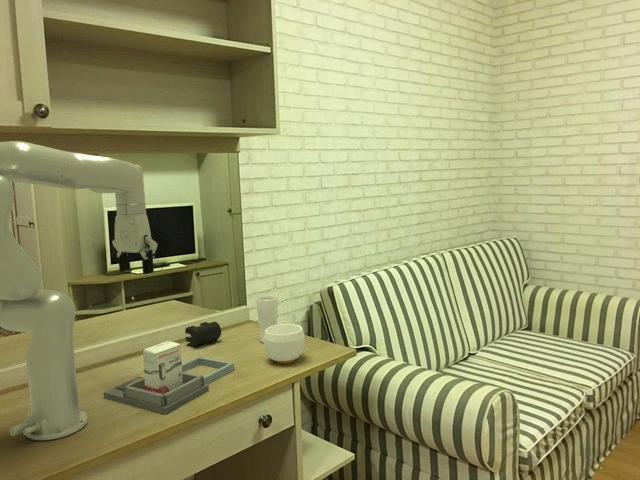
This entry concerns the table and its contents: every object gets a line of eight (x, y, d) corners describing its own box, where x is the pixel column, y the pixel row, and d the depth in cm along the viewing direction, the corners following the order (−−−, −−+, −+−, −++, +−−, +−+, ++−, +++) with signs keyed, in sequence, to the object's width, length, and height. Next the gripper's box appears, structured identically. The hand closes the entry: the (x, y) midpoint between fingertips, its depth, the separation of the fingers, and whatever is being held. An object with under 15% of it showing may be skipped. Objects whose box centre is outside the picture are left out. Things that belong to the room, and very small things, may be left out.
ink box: (158, 399, 126) (154, 352, 125) (144, 395, 129) (141, 349, 128) (184, 386, 134) (181, 342, 132) (171, 383, 136) (168, 339, 135)
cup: (256, 361, 155) (254, 330, 154) (286, 350, 164) (285, 321, 163) (283, 370, 146) (282, 338, 145) (314, 359, 155) (312, 328, 154)
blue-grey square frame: (202, 386, 137) (202, 379, 137) (165, 378, 143) (165, 371, 143) (234, 369, 149) (234, 363, 148) (199, 362, 155) (198, 356, 155)
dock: (166, 414, 121) (164, 398, 121) (103, 397, 132) (102, 382, 131) (208, 390, 134) (207, 376, 134) (148, 377, 145) (147, 363, 144)
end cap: (198, 350, 167) (197, 329, 167) (185, 346, 172) (183, 326, 171) (222, 342, 175) (221, 322, 174) (208, 338, 179) (207, 319, 179)
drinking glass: (254, 341, 174) (252, 298, 172) (270, 336, 178) (268, 294, 177) (266, 345, 169) (264, 301, 167) (282, 341, 173) (281, 297, 172)
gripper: (99, 211, 141) (105, 272, 143) (141, 211, 132) (146, 277, 134) (122, 208, 147) (127, 267, 150) (164, 209, 138) (168, 271, 141)
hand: (136, 272), depth 142 cm, fingers open, 9 cm apart
